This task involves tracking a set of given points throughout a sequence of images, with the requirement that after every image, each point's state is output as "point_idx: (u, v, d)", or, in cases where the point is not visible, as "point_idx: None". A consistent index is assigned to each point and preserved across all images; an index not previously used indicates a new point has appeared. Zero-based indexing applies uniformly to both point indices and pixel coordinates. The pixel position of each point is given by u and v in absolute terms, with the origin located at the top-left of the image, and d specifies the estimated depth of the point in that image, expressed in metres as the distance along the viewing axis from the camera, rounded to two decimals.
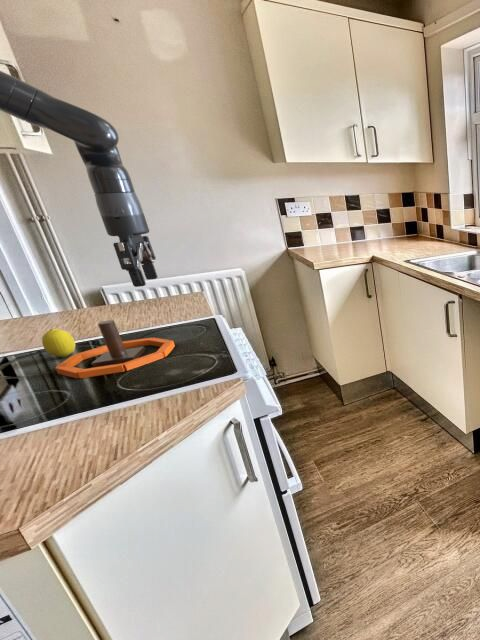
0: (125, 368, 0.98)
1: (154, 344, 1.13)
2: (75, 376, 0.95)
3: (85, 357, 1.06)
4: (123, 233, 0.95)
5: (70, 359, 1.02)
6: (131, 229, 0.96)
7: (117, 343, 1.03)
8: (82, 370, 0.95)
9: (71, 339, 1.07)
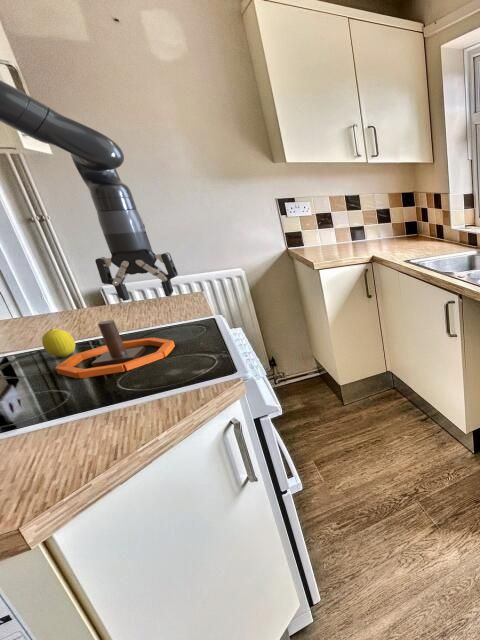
0: (125, 368, 0.98)
1: (154, 344, 1.13)
2: (75, 376, 0.95)
3: (85, 357, 1.06)
4: (150, 246, 1.01)
5: (70, 359, 1.02)
6: (149, 243, 1.02)
7: (117, 343, 1.03)
8: (82, 370, 0.95)
9: (71, 339, 1.07)
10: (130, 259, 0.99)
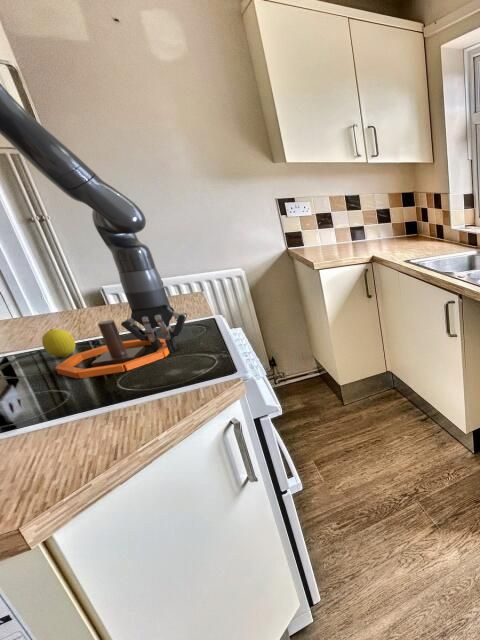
0: (125, 368, 0.98)
1: None
2: (75, 376, 0.95)
3: (85, 357, 1.06)
4: (168, 301, 1.06)
5: (70, 359, 1.02)
6: None
7: (117, 343, 1.03)
8: (82, 370, 0.95)
9: (71, 339, 1.07)
10: (149, 314, 1.04)
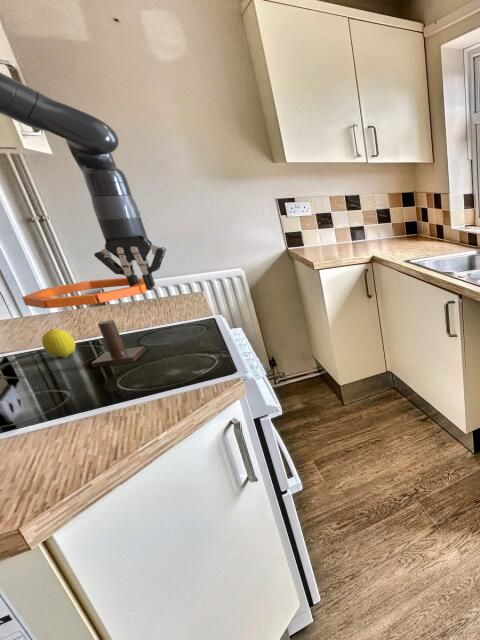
0: (97, 299, 0.92)
1: None
2: (43, 304, 0.89)
3: (57, 293, 1.00)
4: (145, 233, 1.00)
5: (40, 291, 0.96)
6: None
7: (117, 343, 1.03)
8: (50, 298, 0.89)
9: (71, 339, 1.07)
10: (125, 246, 0.98)
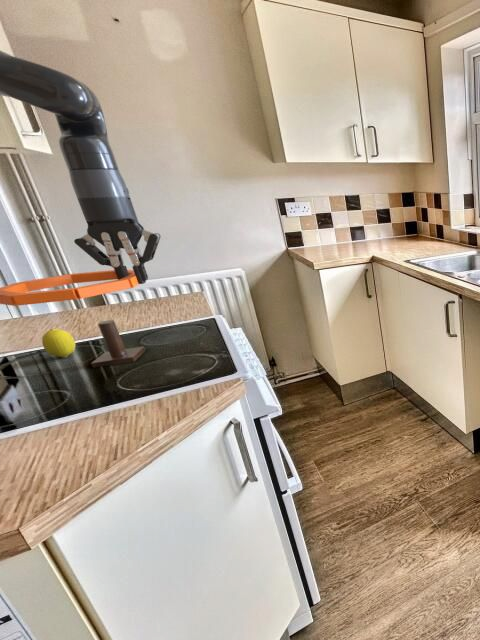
0: (77, 294, 0.76)
1: None
2: (10, 301, 0.73)
3: (31, 287, 0.84)
4: (135, 216, 0.84)
5: (9, 286, 0.80)
6: (134, 212, 0.84)
7: (117, 343, 1.03)
8: (19, 294, 0.73)
9: (71, 339, 1.07)
10: (111, 231, 0.82)
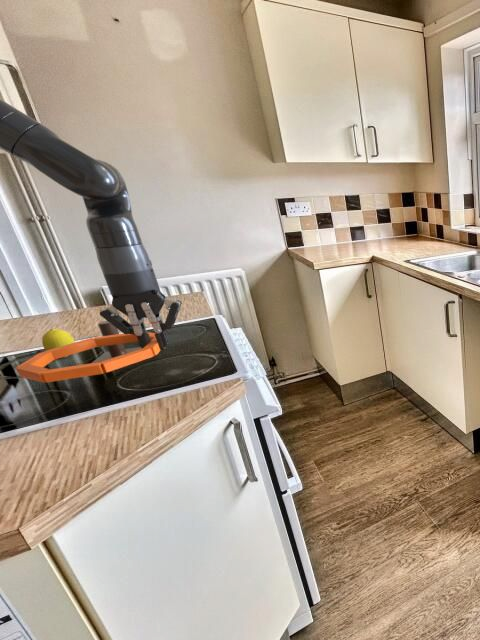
0: (104, 368, 0.78)
1: None
2: (40, 378, 0.75)
3: (57, 355, 0.86)
4: (158, 286, 0.86)
5: (37, 357, 0.82)
6: (156, 281, 0.87)
7: None
8: (49, 371, 0.76)
9: (71, 339, 1.07)
10: (135, 302, 0.84)
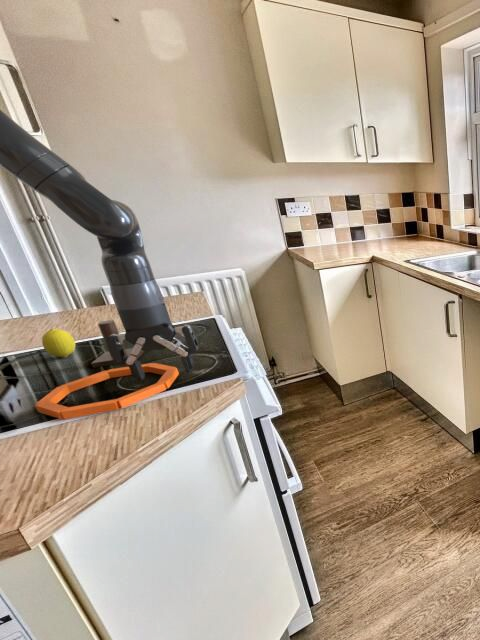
0: (119, 405, 0.81)
1: (154, 371, 0.96)
2: (58, 416, 0.78)
3: (73, 389, 0.89)
4: (169, 319, 0.89)
5: (54, 393, 0.85)
6: (168, 314, 0.90)
7: None
8: (67, 409, 0.79)
9: (71, 339, 1.07)
10: (147, 335, 0.87)
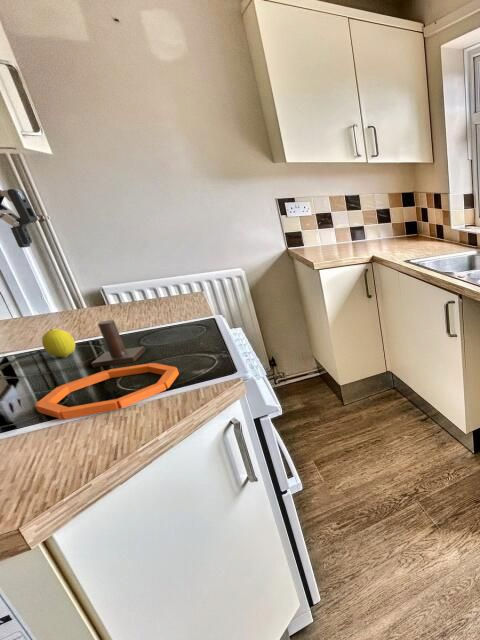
0: (119, 405, 0.81)
1: (154, 371, 0.96)
2: (58, 416, 0.78)
3: (73, 389, 0.89)
4: None
5: (54, 393, 0.85)
6: None
7: (117, 343, 1.03)
8: (67, 409, 0.79)
9: (71, 339, 1.07)
10: None
